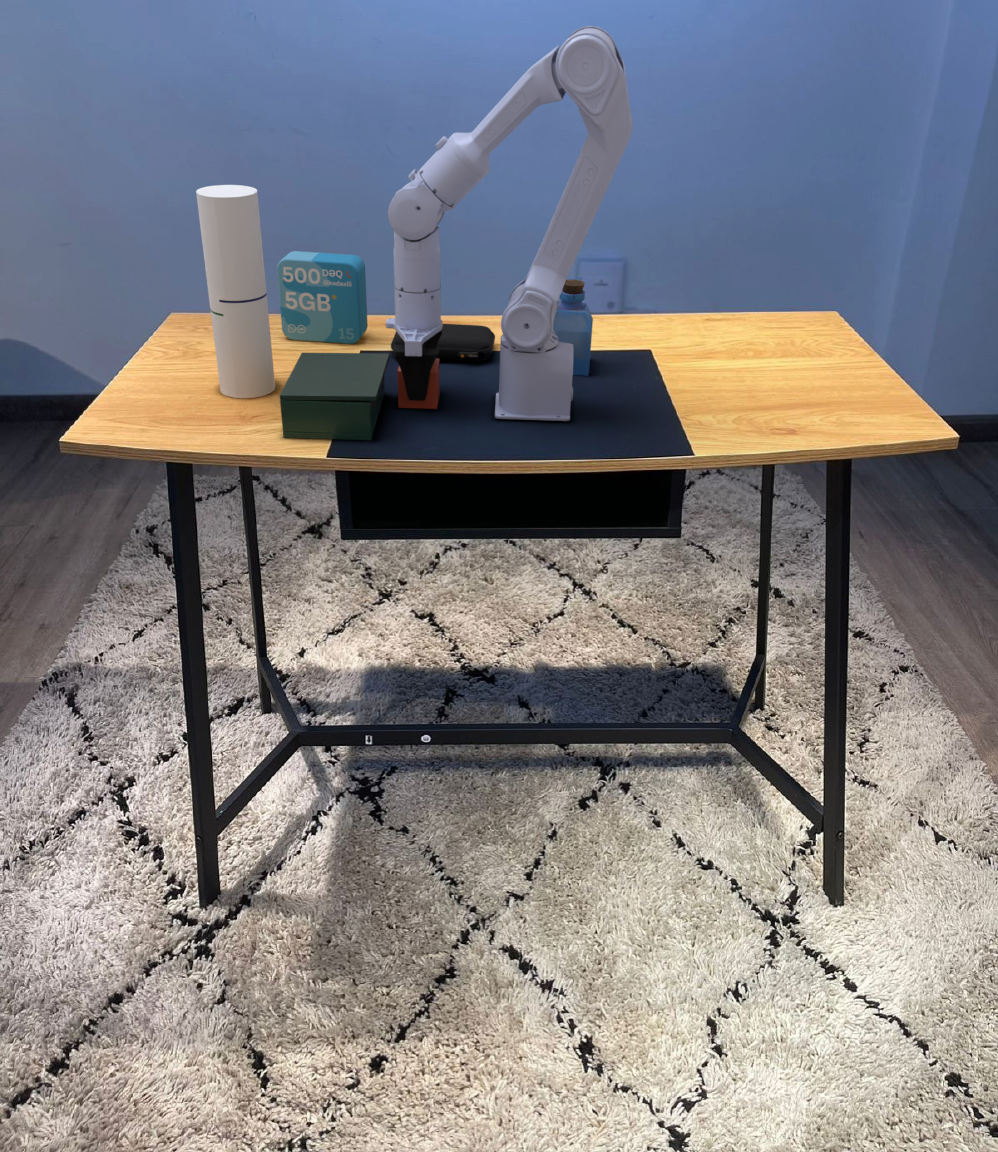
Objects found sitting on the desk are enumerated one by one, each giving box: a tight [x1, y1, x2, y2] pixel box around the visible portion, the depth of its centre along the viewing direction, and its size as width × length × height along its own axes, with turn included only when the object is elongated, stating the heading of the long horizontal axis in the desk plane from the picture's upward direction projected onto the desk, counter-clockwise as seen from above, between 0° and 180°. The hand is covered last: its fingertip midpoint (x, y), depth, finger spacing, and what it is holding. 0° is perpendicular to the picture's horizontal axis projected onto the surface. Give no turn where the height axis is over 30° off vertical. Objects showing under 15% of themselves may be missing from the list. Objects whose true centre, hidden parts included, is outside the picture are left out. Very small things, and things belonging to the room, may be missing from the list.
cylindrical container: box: [195, 184, 276, 399], centre depth 129 cm, size 7×7×25 cm
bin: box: [279, 377, 386, 441], centre depth 127 cm, size 11×15×5 cm
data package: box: [276, 250, 368, 345], centre depth 150 cm, size 12×4×12 cm, turn 82°
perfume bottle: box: [553, 278, 594, 377], centre depth 143 cm, size 6×6×12 cm
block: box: [396, 358, 441, 410], centre depth 132 cm, size 5×5×5 cm
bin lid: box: [279, 352, 391, 401], centre depth 126 cm, size 11×15×1 cm
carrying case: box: [390, 323, 496, 362], centre depth 148 cm, size 11×3×15 cm
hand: (419, 390), depth 133 cm, fingers open, 5 cm apart
